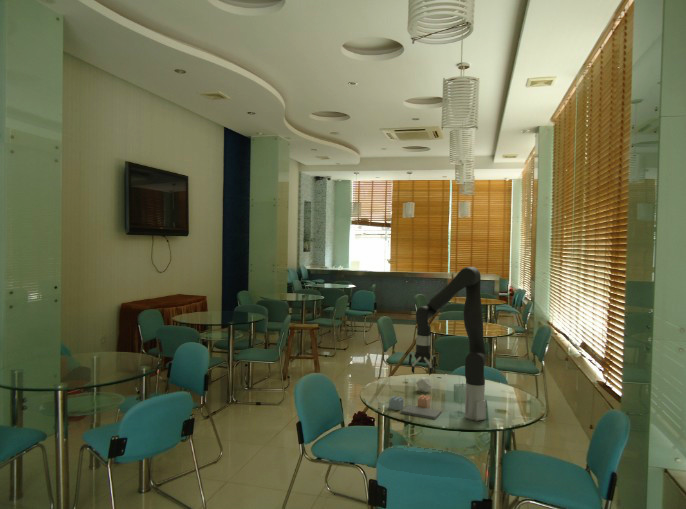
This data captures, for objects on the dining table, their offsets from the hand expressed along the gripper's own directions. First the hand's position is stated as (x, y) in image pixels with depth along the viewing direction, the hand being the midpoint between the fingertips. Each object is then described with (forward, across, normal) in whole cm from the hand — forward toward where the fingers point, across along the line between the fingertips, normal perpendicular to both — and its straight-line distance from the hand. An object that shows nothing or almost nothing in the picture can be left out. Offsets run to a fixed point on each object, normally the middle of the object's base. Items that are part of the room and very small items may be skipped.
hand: (421, 373), depth 275 cm
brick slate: (+18, -12, -6) cm, 22 cm away
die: (+18, +2, +29) cm, 34 cm away
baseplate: (+17, +1, -12) cm, 21 cm away
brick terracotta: (+17, +2, -1) cm, 17 cm away
